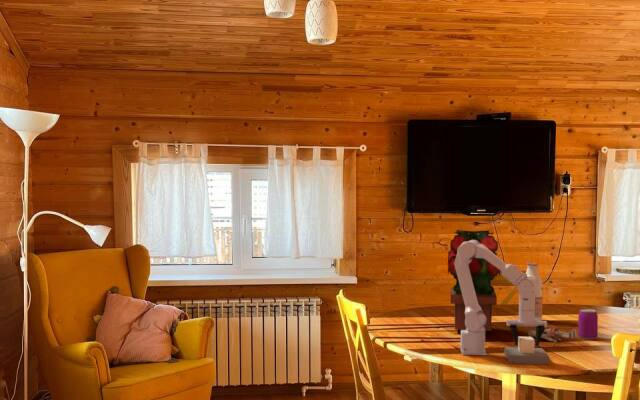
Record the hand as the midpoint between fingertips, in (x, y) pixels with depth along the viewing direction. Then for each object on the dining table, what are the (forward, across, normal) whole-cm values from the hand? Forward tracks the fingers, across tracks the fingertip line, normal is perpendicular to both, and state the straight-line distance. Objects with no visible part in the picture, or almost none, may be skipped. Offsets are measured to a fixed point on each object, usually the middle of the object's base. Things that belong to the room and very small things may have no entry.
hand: (526, 345), depth 242 cm
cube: (+2, 0, 0) cm, 2 cm away
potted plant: (+6, +15, -46) cm, 49 cm away
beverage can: (+6, -33, -39) cm, 51 cm away
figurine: (+6, -16, -32) cm, 36 cm away
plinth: (+5, 0, 0) cm, 5 cm away
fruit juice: (+6, -16, -72) cm, 74 cm away
